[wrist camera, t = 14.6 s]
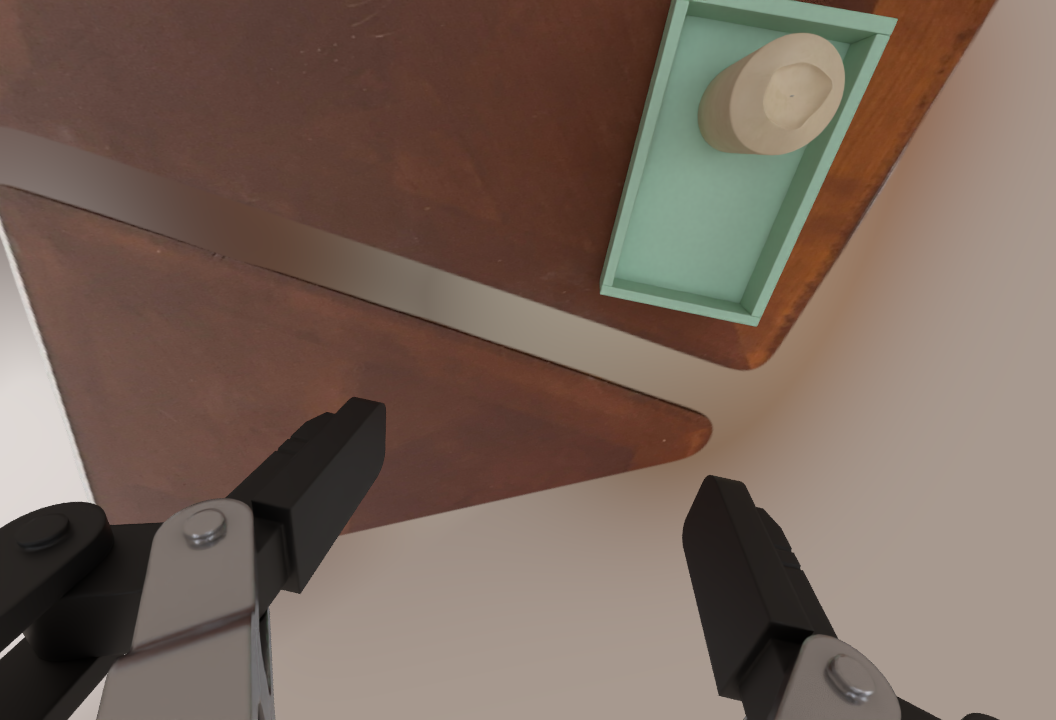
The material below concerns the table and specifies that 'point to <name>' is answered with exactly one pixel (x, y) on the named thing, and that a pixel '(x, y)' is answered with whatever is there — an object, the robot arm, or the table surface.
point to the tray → (725, 164)
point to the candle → (773, 97)
